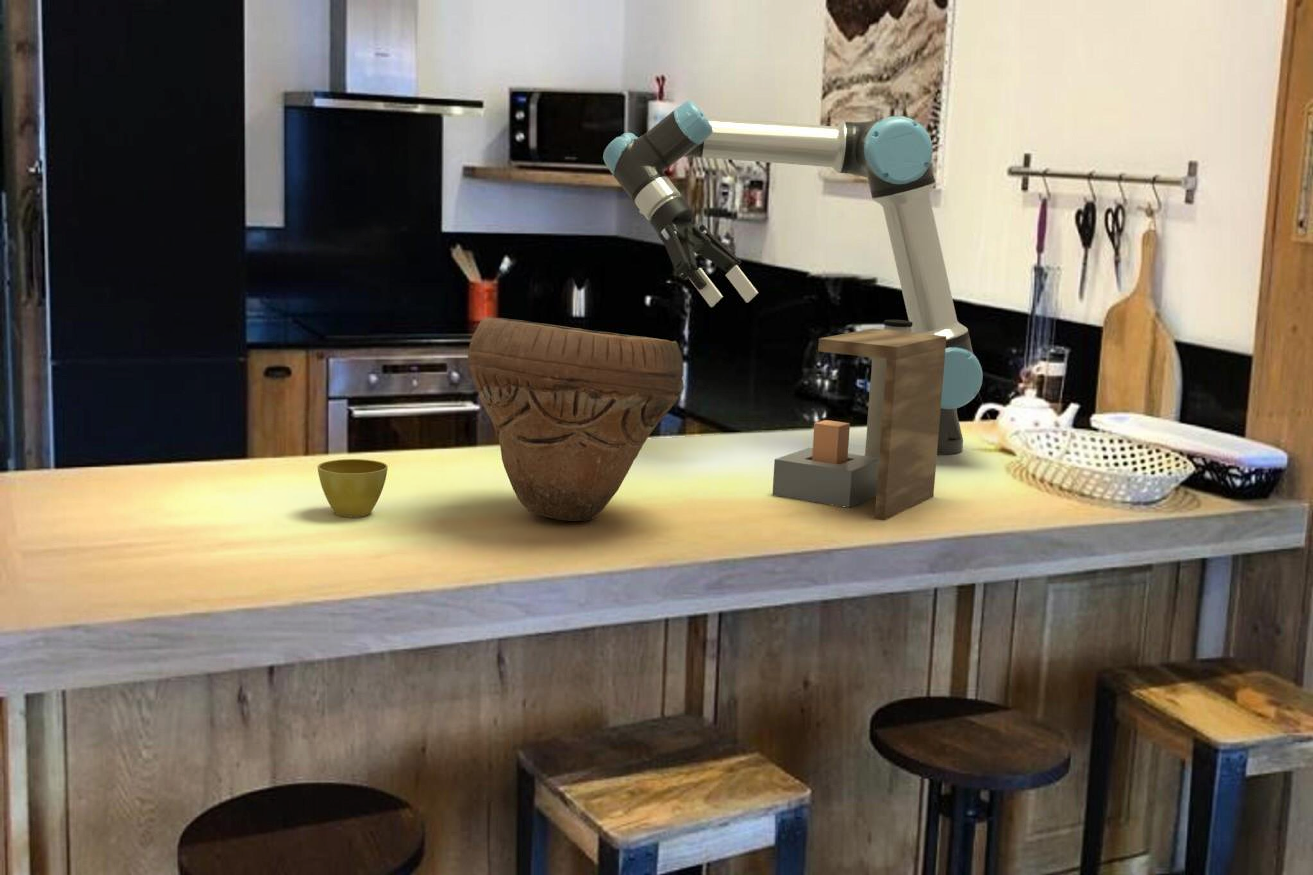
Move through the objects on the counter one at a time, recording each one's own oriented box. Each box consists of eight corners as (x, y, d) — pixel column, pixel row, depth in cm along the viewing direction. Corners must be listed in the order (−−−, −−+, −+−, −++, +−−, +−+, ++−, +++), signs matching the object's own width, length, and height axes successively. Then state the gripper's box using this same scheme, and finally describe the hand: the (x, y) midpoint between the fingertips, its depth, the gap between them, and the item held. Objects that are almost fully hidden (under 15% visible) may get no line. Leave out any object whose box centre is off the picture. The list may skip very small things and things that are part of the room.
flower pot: (327, 523, 211) (327, 474, 210) (309, 507, 220) (309, 460, 219) (395, 518, 216) (396, 470, 214) (375, 503, 225) (376, 457, 223)
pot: (721, 521, 224) (732, 323, 218) (569, 554, 201) (577, 334, 195) (573, 483, 245) (580, 302, 240) (420, 509, 222) (424, 310, 217)
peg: (809, 494, 245) (814, 423, 243) (820, 490, 249) (825, 420, 246) (833, 498, 243) (838, 426, 240) (845, 494, 246) (849, 423, 244)
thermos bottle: (862, 472, 265) (873, 316, 259) (907, 475, 264) (919, 319, 259) (864, 482, 257) (876, 321, 252) (910, 485, 256) (923, 323, 251)
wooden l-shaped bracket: (807, 507, 235) (818, 338, 230) (861, 484, 254) (872, 328, 249) (884, 520, 229) (897, 346, 224) (933, 496, 248) (946, 336, 243)
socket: (772, 495, 243) (774, 459, 242) (807, 481, 255) (809, 447, 254) (848, 507, 236) (851, 471, 235) (881, 493, 248) (883, 458, 247)
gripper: (685, 222, 278) (752, 309, 273) (615, 223, 256) (686, 318, 252) (712, 195, 274) (780, 282, 269) (642, 194, 253) (715, 289, 248)
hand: (735, 300), depth 261 cm, fingers open, 13 cm apart
